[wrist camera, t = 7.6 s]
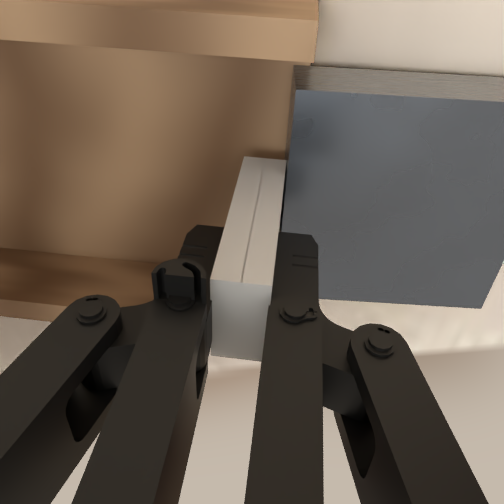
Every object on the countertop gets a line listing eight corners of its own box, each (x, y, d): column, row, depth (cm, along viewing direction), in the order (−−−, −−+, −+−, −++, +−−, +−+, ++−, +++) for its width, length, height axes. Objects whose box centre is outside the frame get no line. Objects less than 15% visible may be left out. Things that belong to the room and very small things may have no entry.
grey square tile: (275, 257, 20) (274, 296, 18) (293, 65, 15) (295, 89, 13) (461, 269, 20) (481, 308, 18) (539, 79, 15) (576, 106, 13)
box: (-158, 236, 23) (-232, 290, 20) (-329, -50, 16) (-488, -35, 13) (285, 281, 22) (280, 346, 19) (318, -7, 15) (318, 20, 12)
